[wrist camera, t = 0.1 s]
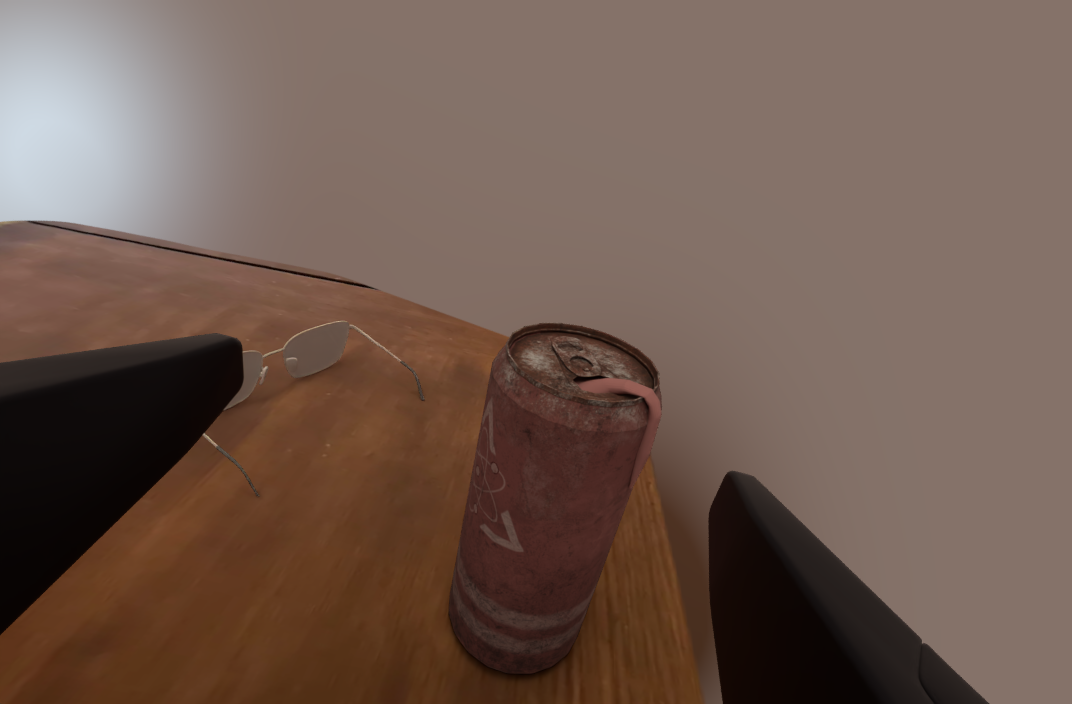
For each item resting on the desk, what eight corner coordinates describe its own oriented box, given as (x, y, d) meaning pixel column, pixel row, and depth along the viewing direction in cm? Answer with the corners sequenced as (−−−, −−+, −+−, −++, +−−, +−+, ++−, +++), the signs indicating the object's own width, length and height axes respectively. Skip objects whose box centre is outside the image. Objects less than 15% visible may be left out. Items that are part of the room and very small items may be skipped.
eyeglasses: (349, 357, 41) (354, 313, 39) (426, 405, 39) (435, 361, 37) (160, 434, 30) (154, 378, 28) (251, 510, 27) (251, 453, 25)
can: (540, 718, 20) (642, 435, 14) (419, 624, 23) (460, 346, 17) (602, 609, 25) (698, 363, 19) (496, 541, 28) (551, 303, 22)
